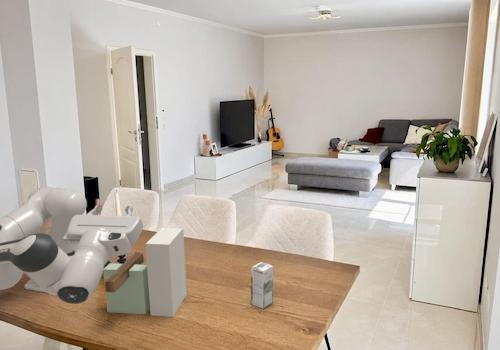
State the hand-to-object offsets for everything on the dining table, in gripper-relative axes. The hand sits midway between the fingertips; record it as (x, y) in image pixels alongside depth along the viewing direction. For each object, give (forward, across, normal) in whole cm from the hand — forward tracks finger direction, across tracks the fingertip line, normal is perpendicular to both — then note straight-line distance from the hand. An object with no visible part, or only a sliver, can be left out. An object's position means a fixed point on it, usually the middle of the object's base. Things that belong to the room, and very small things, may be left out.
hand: (114, 207), depth 123 cm
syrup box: (0, +40, -49) cm, 64 cm away
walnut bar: (-1, -6, -33) cm, 34 cm away
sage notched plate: (-7, -6, -45) cm, 46 cm away
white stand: (-3, +7, -47) cm, 48 cm away
